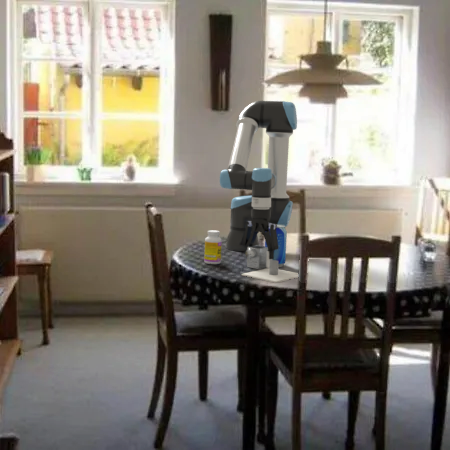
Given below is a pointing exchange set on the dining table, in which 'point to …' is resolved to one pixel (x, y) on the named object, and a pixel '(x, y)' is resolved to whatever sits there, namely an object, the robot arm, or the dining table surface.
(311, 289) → the dining table surface
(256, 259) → the elbow sleeve
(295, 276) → the panel
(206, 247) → the supplement bottle
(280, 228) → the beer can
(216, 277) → the dining table surface
